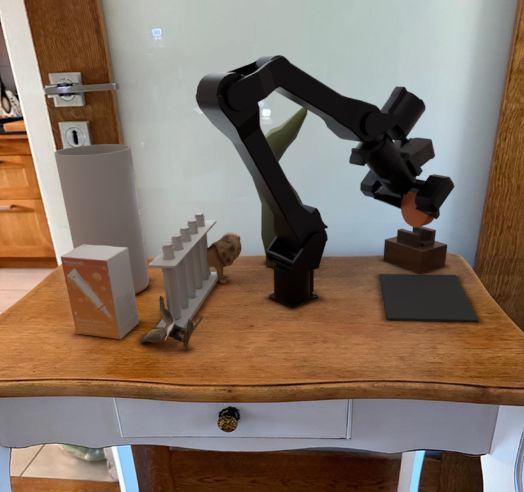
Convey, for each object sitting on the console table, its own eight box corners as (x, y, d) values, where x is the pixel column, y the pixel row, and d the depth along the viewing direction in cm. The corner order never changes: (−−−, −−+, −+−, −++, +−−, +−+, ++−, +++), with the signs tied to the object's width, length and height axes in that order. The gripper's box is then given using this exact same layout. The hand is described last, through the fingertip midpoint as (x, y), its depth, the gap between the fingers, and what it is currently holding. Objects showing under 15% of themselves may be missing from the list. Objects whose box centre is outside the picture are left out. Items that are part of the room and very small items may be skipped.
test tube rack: (183, 332, 87) (173, 251, 81) (156, 331, 88) (145, 251, 81) (221, 275, 108) (216, 208, 102) (199, 275, 109) (193, 208, 103)
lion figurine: (242, 273, 110) (240, 228, 105) (244, 282, 105) (241, 236, 101) (168, 277, 109) (162, 233, 105) (166, 287, 104) (160, 241, 100)
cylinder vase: (151, 295, 101) (131, 152, 89) (81, 304, 98) (50, 158, 87) (148, 273, 112) (129, 142, 100) (84, 280, 109) (57, 147, 98)
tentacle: (307, 271, 109) (307, 106, 95) (247, 268, 112) (239, 107, 98) (315, 256, 117) (316, 102, 103) (259, 254, 120) (253, 103, 106)
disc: (426, 230, 104) (430, 192, 101) (399, 223, 110) (402, 187, 106) (435, 228, 105) (439, 191, 102) (408, 221, 111) (411, 185, 108)
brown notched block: (419, 274, 106) (423, 238, 103) (383, 260, 113) (385, 227, 110) (444, 266, 109) (449, 232, 106) (407, 253, 117) (410, 221, 113)
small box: (75, 334, 88) (58, 256, 81) (97, 318, 93) (83, 243, 87) (120, 340, 85) (106, 259, 79) (140, 323, 91) (128, 246, 84)
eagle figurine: (211, 329, 85) (167, 307, 89) (197, 304, 79) (150, 282, 82) (183, 368, 83) (139, 345, 86) (166, 346, 76) (119, 322, 80)
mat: (478, 322, 86) (478, 319, 86) (386, 320, 88) (386, 317, 88) (455, 276, 104) (455, 274, 104) (379, 275, 106) (379, 273, 105)
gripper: (454, 127, 90) (487, 186, 100) (374, 119, 104) (411, 172, 114) (415, 183, 90) (452, 237, 100) (341, 168, 104) (380, 216, 114)
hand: (423, 213), depth 107 cm, fingers closed on disc, 7 cm apart
